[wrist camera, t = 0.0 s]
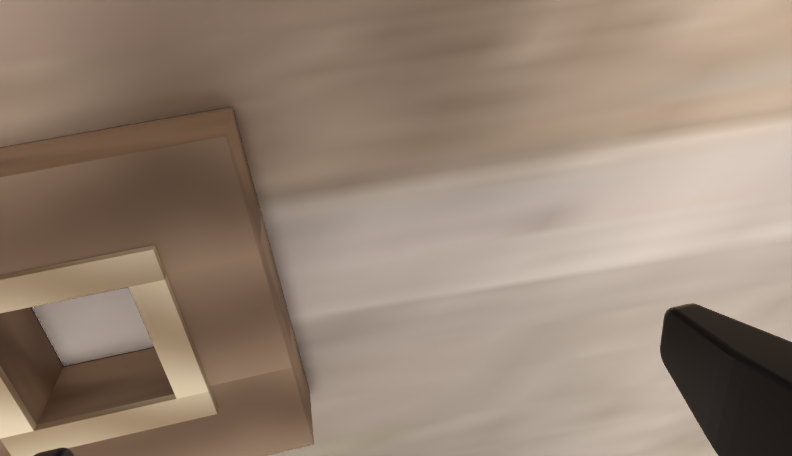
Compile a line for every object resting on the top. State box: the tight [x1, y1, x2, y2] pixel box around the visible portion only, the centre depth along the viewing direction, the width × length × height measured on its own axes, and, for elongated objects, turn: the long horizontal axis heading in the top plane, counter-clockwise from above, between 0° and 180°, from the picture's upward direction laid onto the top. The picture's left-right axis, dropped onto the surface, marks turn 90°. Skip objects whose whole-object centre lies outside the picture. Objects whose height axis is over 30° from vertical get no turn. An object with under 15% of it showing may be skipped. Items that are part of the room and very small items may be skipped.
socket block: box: [0, 107, 314, 456], centre depth 22 cm, size 14×14×4 cm
